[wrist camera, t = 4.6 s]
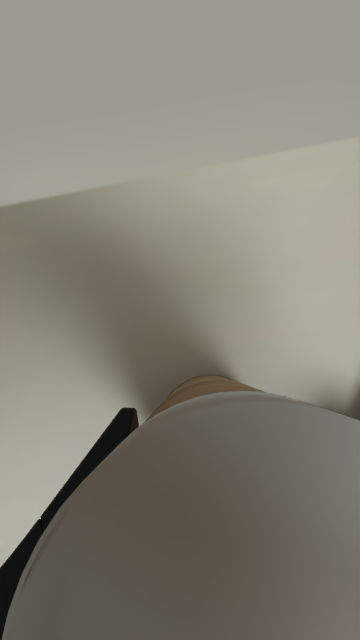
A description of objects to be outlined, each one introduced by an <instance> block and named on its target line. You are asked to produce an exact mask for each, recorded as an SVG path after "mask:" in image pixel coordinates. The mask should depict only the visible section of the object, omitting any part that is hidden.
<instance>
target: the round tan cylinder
mask: <svg viewBox="0 0 360 640" xmlns="http://www.w3.org/2000/svg"><path fill="white" fill-rule="evenodd" d="M2 640H360V420H357V419H354V418H351V417H348V416H345V415H342V414H339V413H336V412H333V411H330V410H326V409H323V408H320V407H317V406H314V405H311V404H308V403H305V402H302V401H299V400H295V399H292V398H289V397H286V396H281V395H276V394H271V393H266V392H264V391H261V390H258V389H255V388H252V387H250V386H247V385H244V384H241V383H238V382H236V381H233V380H230V379H227V378H224V377H220V376H215V375H205V376H199V377H195V378H192V379H190V380H188V381H186V382H184V383H183V384H181V385H180V386H179V387H177V388H176V389H175V390H174V391H173V392H172V393H171V395H170V396H169V397H168V398H167V399H166V400H165V401H164V402H163V403H162V404H161V405H160V406H159V407H158V408H157V410H156V411H155V412H154V413H153V414H152V415H151V416H150V417H149V418H148V419H147V420H146V421H145V422H144V423H143V424H142V425H140V426H139V427H138V428H136V429H135V430H134V431H133V432H132V433H131V434H130V435H129V436H128V437H127V438H126V439H124V440H123V441H122V442H121V443H120V444H119V445H118V446H117V447H116V448H115V449H114V450H113V451H112V452H111V453H110V454H109V455H108V456H107V457H106V458H105V459H104V460H103V461H102V462H101V463H100V464H99V465H98V466H97V467H96V468H95V469H94V470H93V471H92V472H91V473H90V474H89V475H88V476H87V477H86V478H85V479H84V480H83V481H82V482H81V484H80V485H79V486H78V487H77V488H76V490H75V491H74V492H73V493H72V494H71V495H70V497H69V498H68V499H67V500H66V501H65V503H64V504H63V505H62V506H61V507H60V508H59V510H58V511H57V513H56V514H55V516H54V517H53V519H52V520H51V522H50V523H49V525H48V527H47V528H46V530H45V531H44V533H43V534H42V536H41V537H40V539H39V540H38V542H37V544H36V546H35V548H34V550H33V552H32V554H31V556H30V558H29V561H28V563H27V565H26V567H25V569H24V571H23V573H22V575H21V578H20V580H19V583H18V586H17V589H16V591H15V594H14V597H13V600H12V603H11V605H10V608H9V611H8V615H7V619H6V623H5V628H4V632H3V636H2Z"/></svg>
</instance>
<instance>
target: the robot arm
mask: <svg viewBox="0 0 360 640" xmlns="http://www.w3.org/2000/svg"><path fill="white" fill-rule="evenodd" d="M138 427H139V423H138V417H137V411H136V409H135V408H122V409H121V410H120V411H119V412H118V414H117V415H116V416H115V418H114V419H113V420H112V422H111V423H110V424H109V426H108V427H107V428H106V430H105V431H104V432H103V434H102V435H101V436H100V438H99V439H98V440H97V442H96V443H95V444H94V446H93V447H92V449H91V450H90V451H89V453H88V454H87V455H86V457H85V458H84V459H83V461H82V462H81V463H80V465H79V466H78V467H77V469H76V470H75V471H74V473H73V474H72V475H71V477H70V478H69V479H68V481H67V482H66V483H65V485H64V486H63V487H62V489H61V490H60V491H59V493H58V494H57V495H56V497H55V498H54V499H53V501H52V502H51V503H50V505H49V506H48V507H47V509H46V510H45V511H44V513H43V514H42V515H41V519H38V520H37V522H36V523H35V525H34V526H33V527H32V529H31V530H30V531H29V533H28V534H27V535H26V537H25V538H24V539H23V540H22V542H21V543H20V544H19V545H18V547H17V548H16V549H15V551H14V552H13V553H12V554H11V556H10V557H9V558H8V559H7V560H6V562H5V563H4V564H3V565H2V566H1V567H0V640H2V636H3V632H4V628H5V623H6V619H7V615H8V611H9V608H10V605H11V603H12V600H13V597H14V594H15V591H16V589H17V586H18V583H19V580H20V578H21V575H22V573H23V571H24V569H25V567H26V565H27V563H28V561H29V558H30V556H31V554H32V552H33V550H34V548H35V546H36V544H37V542H38V540H39V539H40V537H41V536H42V534H43V533H44V531H45V530H46V528H47V527H48V525H49V523H50V522H51V520H52V519H53V517H54V516H55V514H56V513H57V511H58V510H59V508H60V507H61V506H62V505H63V504H64V503H65V501H66V500H67V499H68V498H69V497H70V495H71V494H72V493H73V492H74V491H75V490H76V488H77V487H78V486H79V485H80V484H81V482H82V481H83V480H84V479H85V478H86V477H87V476H88V475H89V474H90V473H91V472H92V471H93V470H94V469H95V468H96V467H97V466H98V465H99V464H100V463H101V462H102V461H103V460H104V459H105V458H106V457H107V456H108V455H109V454H110V453H111V452H112V451H113V450H114V449H115V448H116V447H117V446H118V445H119V444H120V443H121V442H122V441H123V440H124V439H126V438H127V437H128V436H129V435H130V434H131V433H132V432H133V431H134V430H135V429H136V428H138Z"/></svg>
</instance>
